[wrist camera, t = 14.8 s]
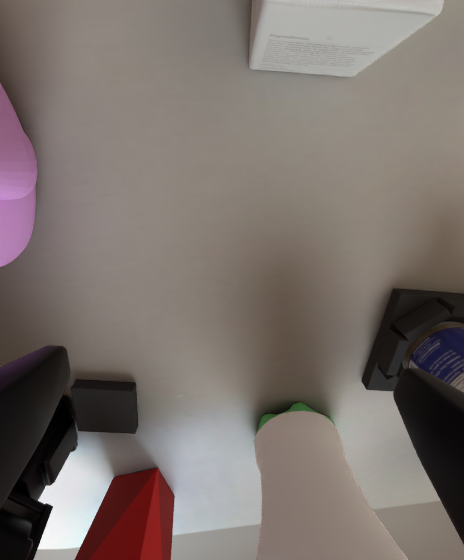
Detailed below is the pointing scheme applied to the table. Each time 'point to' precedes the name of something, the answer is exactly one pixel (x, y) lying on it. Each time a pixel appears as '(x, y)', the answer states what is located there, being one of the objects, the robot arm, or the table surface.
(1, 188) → the teapot
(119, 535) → the french fries
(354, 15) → the white cardboard box
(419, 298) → the foot pad
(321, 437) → the cup
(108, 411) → the base pad
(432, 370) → the pill bottle
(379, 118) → the table surface
